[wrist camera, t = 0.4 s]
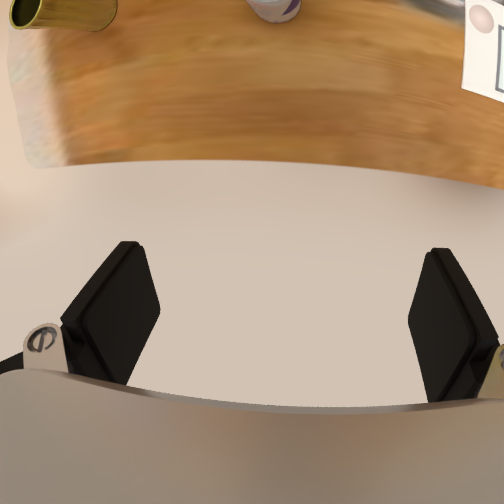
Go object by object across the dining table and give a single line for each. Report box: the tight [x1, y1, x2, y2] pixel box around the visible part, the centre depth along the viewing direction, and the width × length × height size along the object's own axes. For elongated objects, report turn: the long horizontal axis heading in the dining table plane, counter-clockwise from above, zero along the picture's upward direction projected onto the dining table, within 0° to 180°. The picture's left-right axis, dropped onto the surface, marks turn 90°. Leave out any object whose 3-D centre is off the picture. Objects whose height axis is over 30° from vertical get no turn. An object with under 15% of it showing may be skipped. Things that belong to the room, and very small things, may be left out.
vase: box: [9, 0, 117, 32], centre depth 24 cm, size 6×6×14 cm
